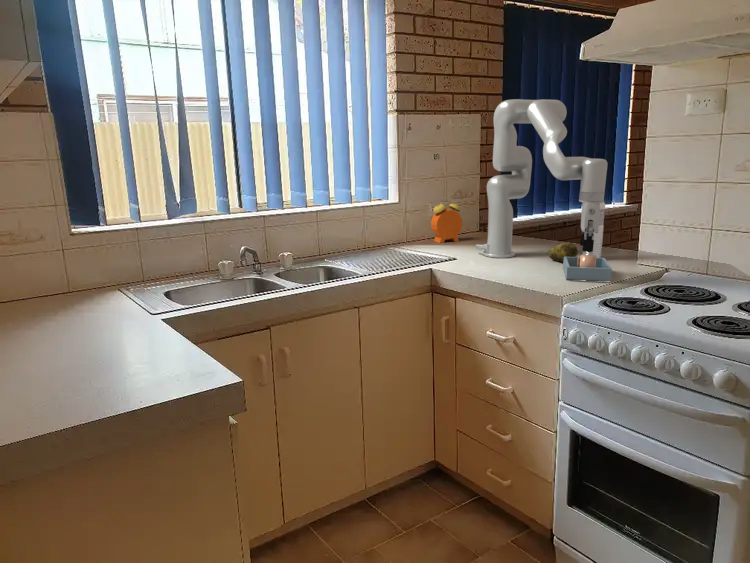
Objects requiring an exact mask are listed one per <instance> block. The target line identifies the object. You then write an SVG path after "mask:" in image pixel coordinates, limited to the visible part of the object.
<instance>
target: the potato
mask: <svg viewBox="0 0 750 563" xmlns="http://www.w3.org/2000/svg"><path fill="white" fill-rule="evenodd" d="M578 252H579V251H578V248H577V246H576V245H575V244H574V243H571V242H563V243H562V242H561V243H560V244H558V245H556V246H553V247H552V248H550V249H549V250H548V252H547V256H549V258H550V259H551V260H553V261H557V262H559V261H560V262H561V263H563V262H564V257H578Z"/></svg>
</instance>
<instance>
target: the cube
mask: <svg viewBox="0 0 750 563" xmlns="http://www.w3.org/2000/svg"><path fill="white" fill-rule="evenodd" d="M576 257H577V267H580V255H577V256H576Z"/></svg>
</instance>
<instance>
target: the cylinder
mask: <svg viewBox="0 0 750 563" xmlns="http://www.w3.org/2000/svg"><path fill="white" fill-rule="evenodd" d="M579 256H580V267H590V268H596V257H597V256H595V255H587V254H585V255H583V254H580V255H579Z"/></svg>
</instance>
